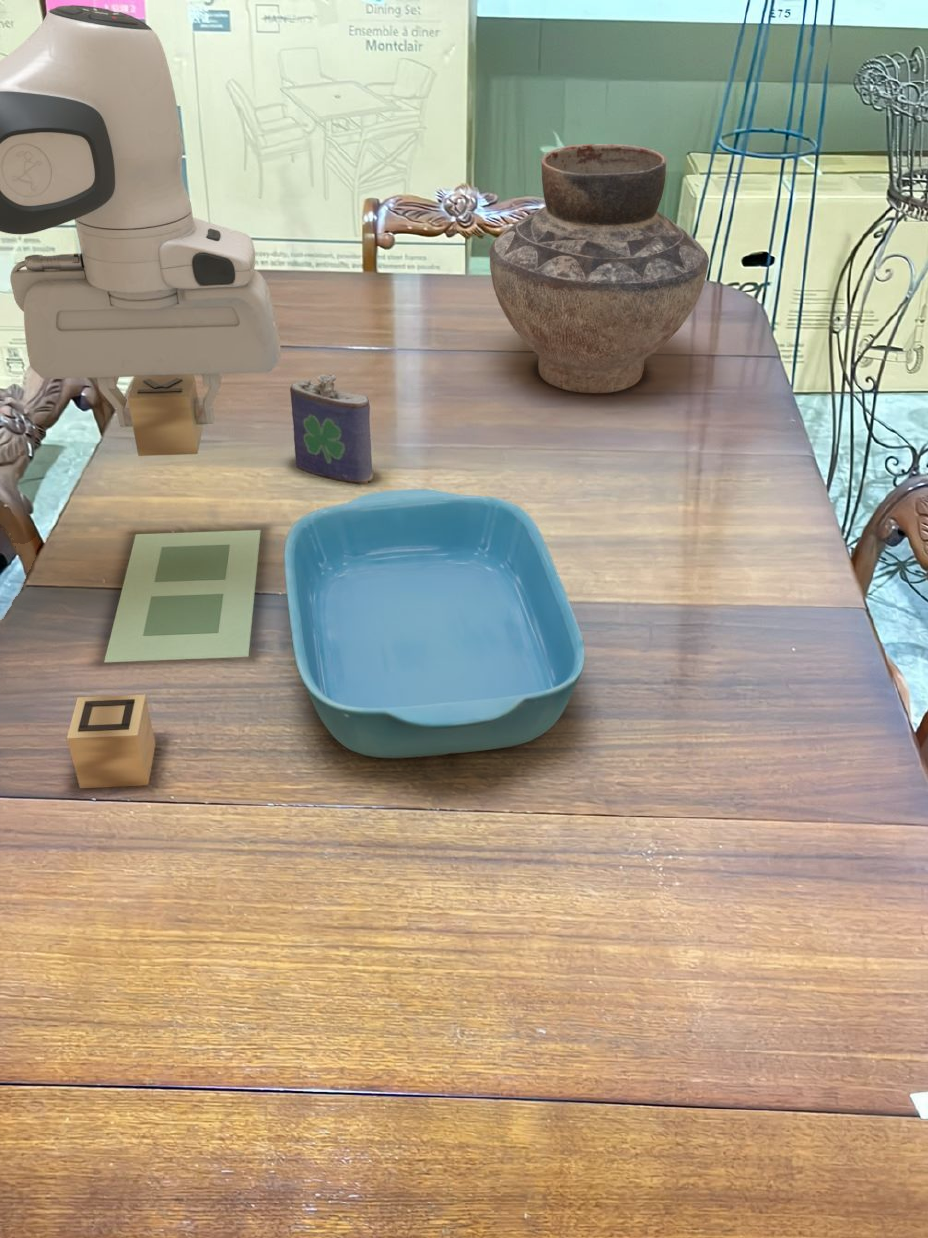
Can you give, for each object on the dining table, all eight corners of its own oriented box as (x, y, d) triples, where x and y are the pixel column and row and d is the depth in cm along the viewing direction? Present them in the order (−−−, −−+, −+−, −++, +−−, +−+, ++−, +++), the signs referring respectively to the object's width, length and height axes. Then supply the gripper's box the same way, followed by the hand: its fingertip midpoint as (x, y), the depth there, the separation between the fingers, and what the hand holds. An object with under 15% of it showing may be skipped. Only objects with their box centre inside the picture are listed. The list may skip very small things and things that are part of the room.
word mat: (104, 666, 105) (103, 661, 104) (136, 537, 121) (135, 533, 121) (249, 660, 105) (248, 655, 105) (261, 533, 122) (260, 529, 122)
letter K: (138, 456, 106) (127, 397, 102) (145, 431, 110) (134, 373, 106) (197, 454, 106) (188, 395, 103) (202, 429, 110) (194, 371, 106)
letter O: (80, 791, 92) (66, 736, 89) (90, 750, 96) (77, 696, 93) (149, 788, 93) (137, 733, 89) (156, 747, 96) (145, 693, 93)
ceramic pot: (445, 377, 151) (443, 159, 135) (570, 321, 165) (582, 118, 149) (613, 436, 139) (633, 204, 123) (733, 371, 153) (765, 155, 137)
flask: (378, 480, 130) (372, 378, 123) (362, 491, 129) (356, 389, 121) (304, 460, 134) (295, 361, 127) (288, 471, 132) (278, 370, 125)
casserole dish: (283, 560, 118) (276, 490, 113) (516, 543, 121) (518, 473, 116) (309, 813, 91) (300, 735, 86) (608, 783, 93) (616, 706, 89)
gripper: (-4, 268, 95) (37, 443, 104) (268, 262, 96) (285, 435, 105) (12, 242, 99) (51, 411, 108) (271, 236, 100) (288, 404, 110)
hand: (168, 423), depth 107 cm, fingers closed on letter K, 5 cm apart
